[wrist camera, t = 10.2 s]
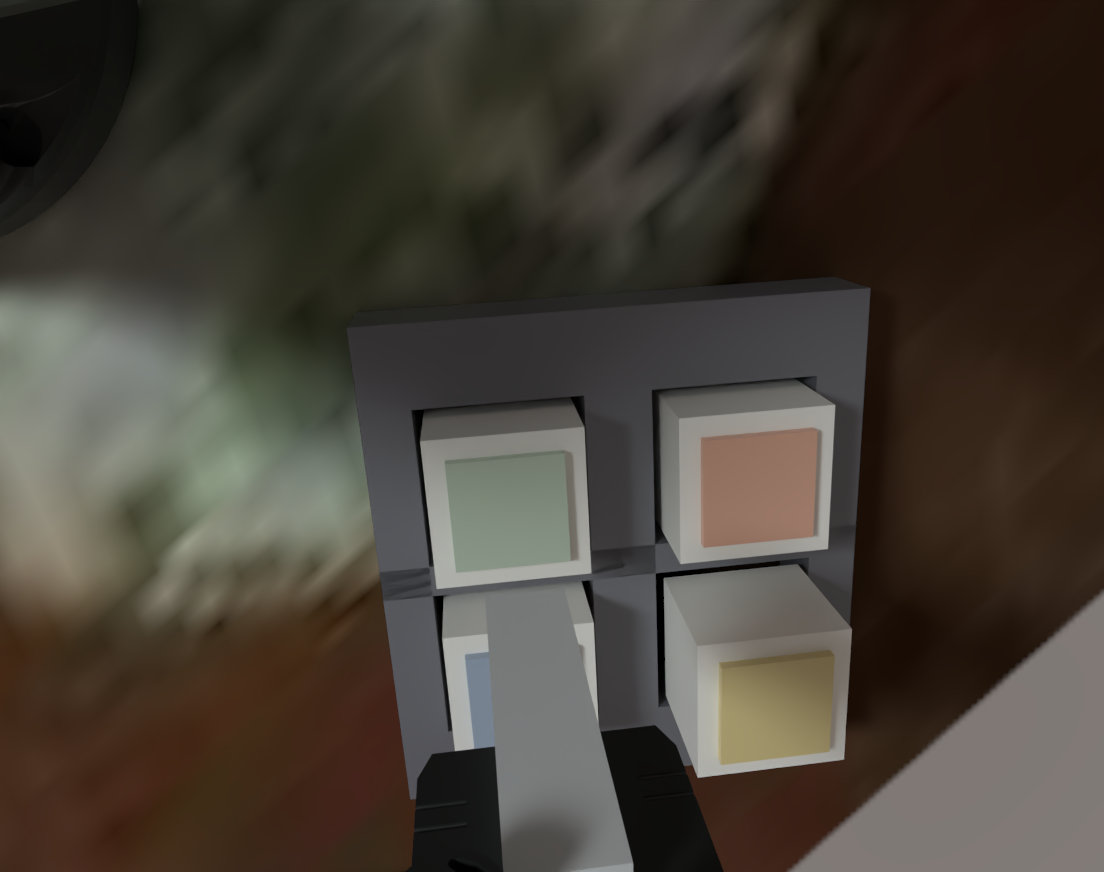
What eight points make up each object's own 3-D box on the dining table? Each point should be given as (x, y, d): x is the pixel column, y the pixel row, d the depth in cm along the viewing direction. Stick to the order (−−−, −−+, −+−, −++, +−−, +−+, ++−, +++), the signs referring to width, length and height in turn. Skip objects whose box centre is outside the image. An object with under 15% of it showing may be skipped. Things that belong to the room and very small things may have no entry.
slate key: (444, 574, 28) (442, 644, 24) (575, 560, 28) (595, 627, 24) (456, 687, 29) (456, 771, 25) (581, 673, 30) (601, 754, 26)
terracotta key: (647, 381, 27) (682, 421, 23) (782, 370, 27) (839, 408, 23) (650, 509, 28) (683, 568, 24) (778, 497, 28) (832, 553, 24)
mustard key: (663, 578, 27) (700, 652, 23) (797, 563, 27) (856, 634, 23) (665, 695, 28) (700, 784, 24) (792, 680, 29) (848, 766, 25)
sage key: (425, 400, 26) (419, 445, 22) (566, 388, 27) (585, 430, 22) (439, 530, 28) (436, 594, 24) (573, 517, 28) (593, 578, 24)
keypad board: (356, 312, 26) (346, 328, 23) (834, 276, 27) (870, 287, 24) (413, 750, 31) (410, 799, 28) (813, 703, 32) (842, 746, 30)
